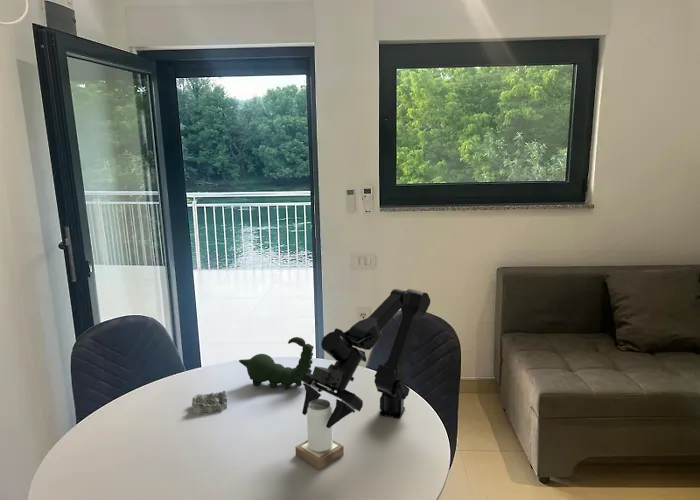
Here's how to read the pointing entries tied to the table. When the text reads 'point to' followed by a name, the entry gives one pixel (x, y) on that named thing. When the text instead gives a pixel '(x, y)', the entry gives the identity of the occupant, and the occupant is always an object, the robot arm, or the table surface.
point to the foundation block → (319, 454)
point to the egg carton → (202, 402)
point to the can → (319, 425)
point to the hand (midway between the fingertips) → (315, 420)
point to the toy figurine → (279, 367)
